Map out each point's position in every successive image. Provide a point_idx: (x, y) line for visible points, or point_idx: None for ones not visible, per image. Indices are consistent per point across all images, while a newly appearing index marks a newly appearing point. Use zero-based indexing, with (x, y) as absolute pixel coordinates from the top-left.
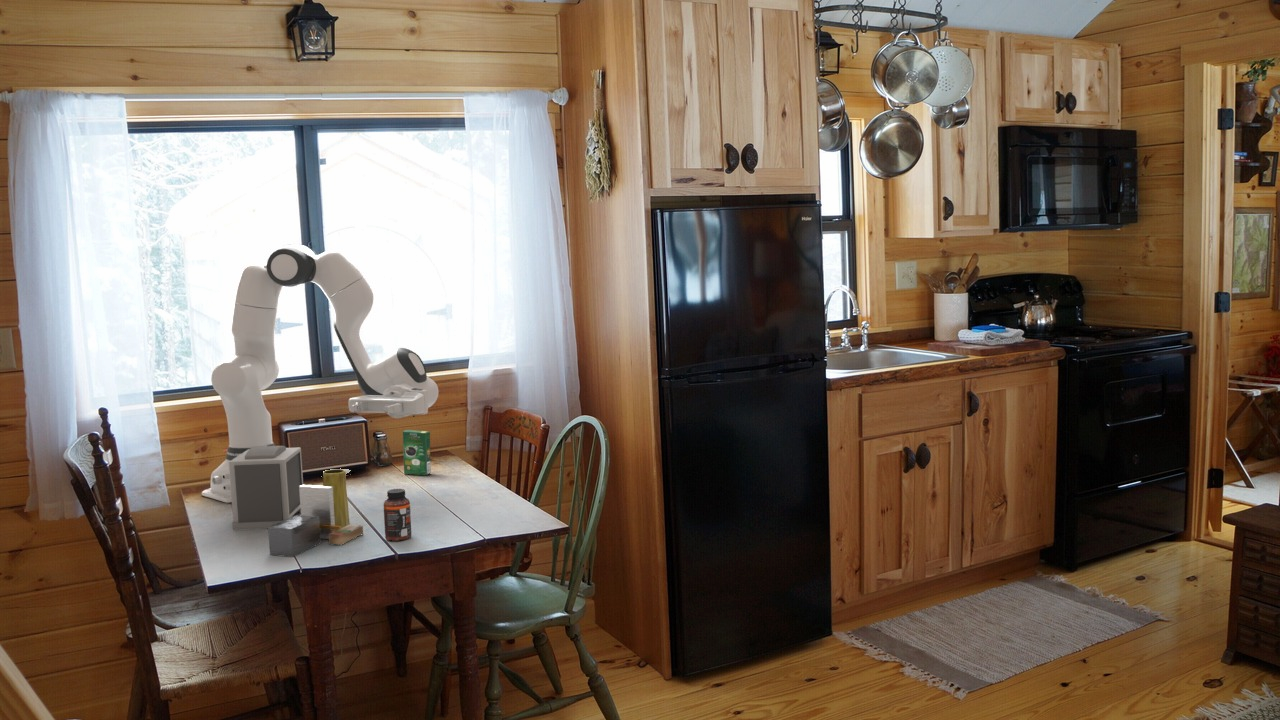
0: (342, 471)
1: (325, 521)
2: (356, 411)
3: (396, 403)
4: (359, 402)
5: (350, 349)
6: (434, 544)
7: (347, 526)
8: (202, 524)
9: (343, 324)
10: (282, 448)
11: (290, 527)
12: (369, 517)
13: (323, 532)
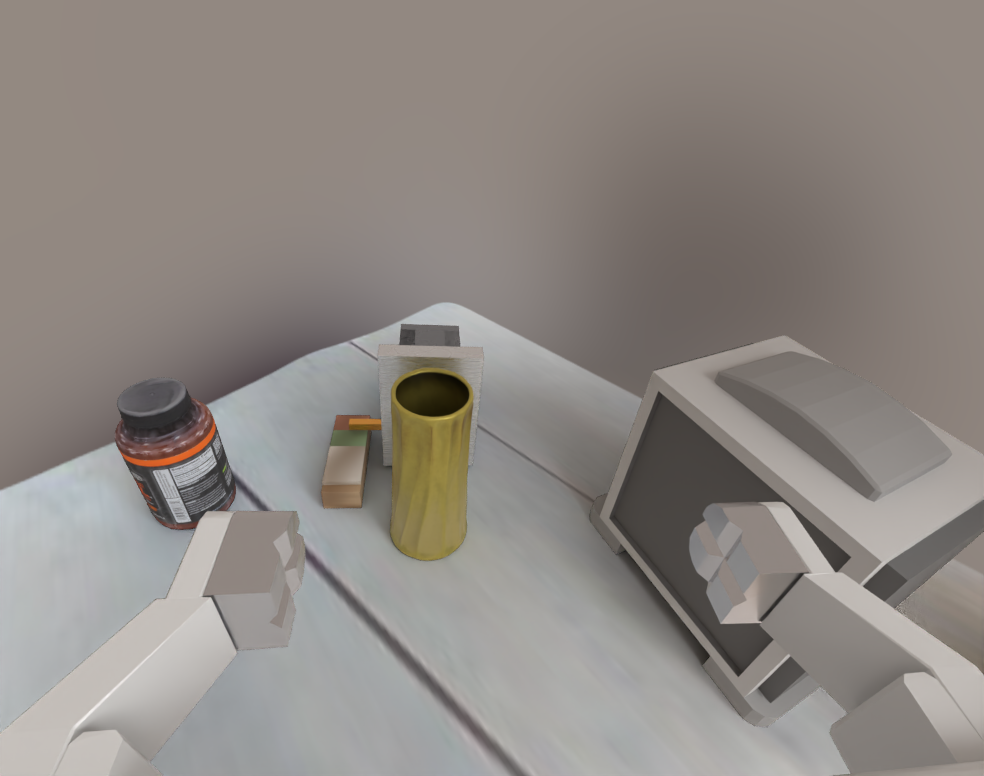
0: (419, 422)
1: None
2: (697, 540)
3: (102, 772)
4: (952, 701)
5: None
6: (67, 480)
7: (356, 466)
8: None
9: None
10: (822, 445)
11: (408, 328)
12: (403, 681)
13: None
